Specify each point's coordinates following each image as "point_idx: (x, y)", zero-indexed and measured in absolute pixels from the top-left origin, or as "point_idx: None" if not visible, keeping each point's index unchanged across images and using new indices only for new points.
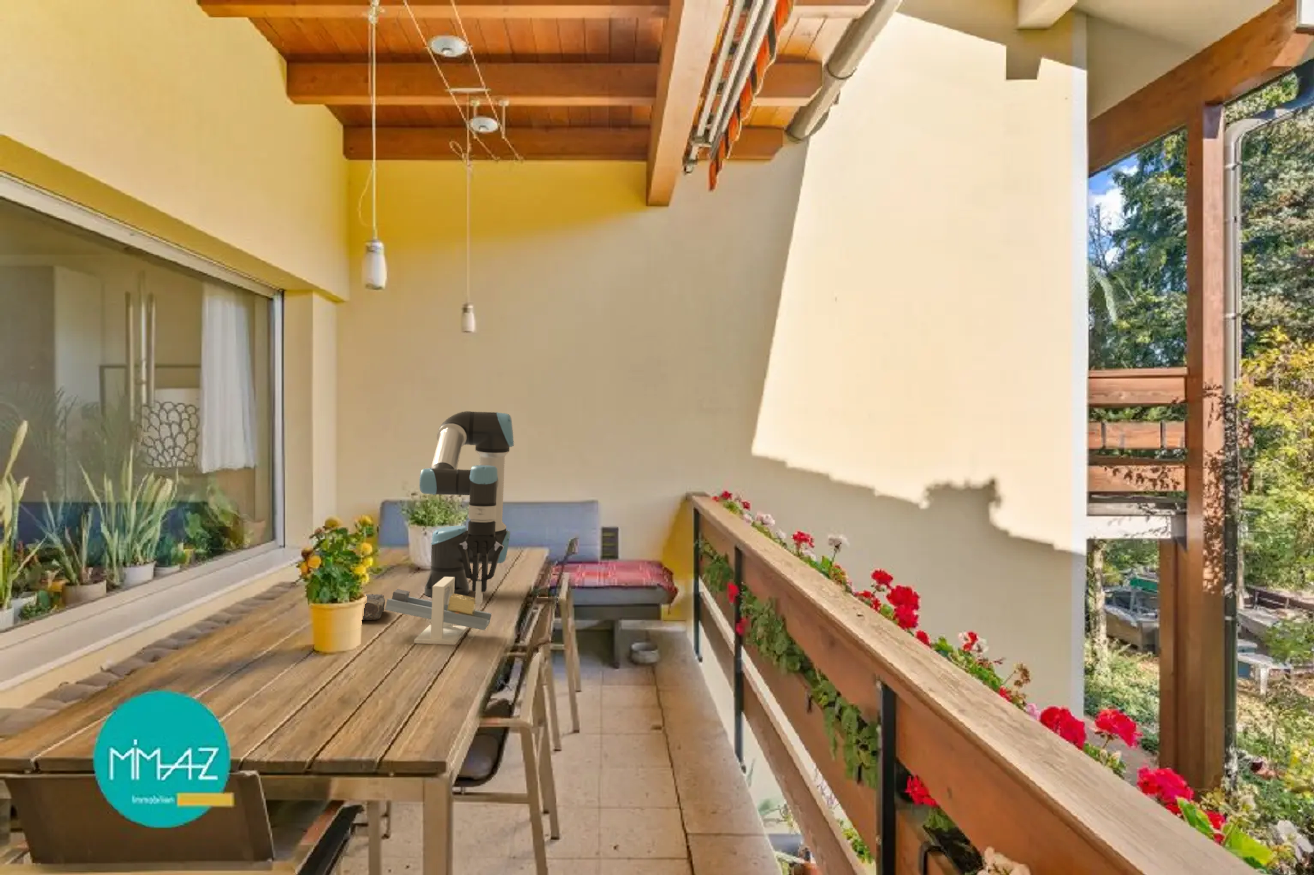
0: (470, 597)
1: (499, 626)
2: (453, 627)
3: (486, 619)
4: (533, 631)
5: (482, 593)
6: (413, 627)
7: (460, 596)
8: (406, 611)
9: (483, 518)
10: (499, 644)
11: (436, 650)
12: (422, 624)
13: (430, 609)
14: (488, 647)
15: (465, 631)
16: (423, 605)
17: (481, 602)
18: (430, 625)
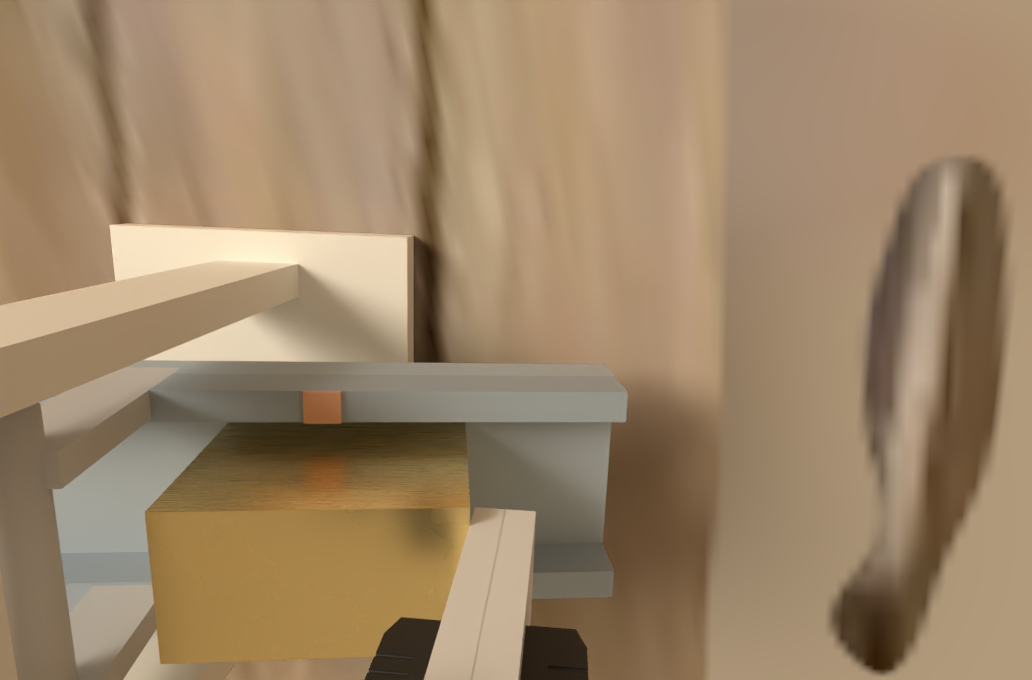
0: (382, 535)
1: (659, 127)
2: (309, 285)
3: (607, 589)
4: (960, 251)
5: (528, 589)
6: (10, 212)
7: (264, 577)
8: None
9: None
10: (704, 566)
11: (333, 674)
12: (39, 125)
13: (72, 604)
14: (637, 622)
15: (413, 298)
16: None
17: (533, 566)
18: (123, 245)
